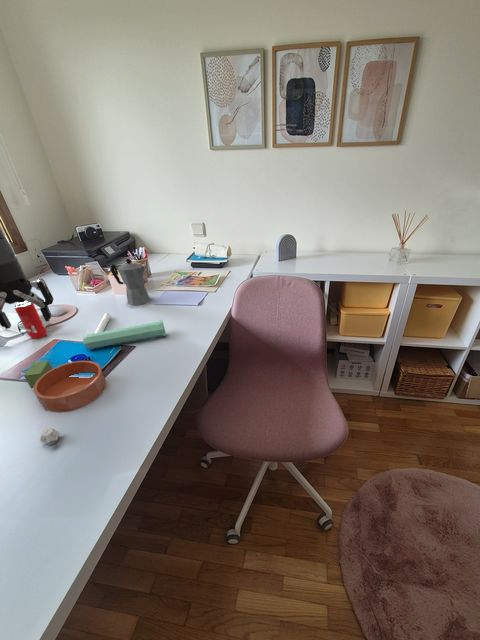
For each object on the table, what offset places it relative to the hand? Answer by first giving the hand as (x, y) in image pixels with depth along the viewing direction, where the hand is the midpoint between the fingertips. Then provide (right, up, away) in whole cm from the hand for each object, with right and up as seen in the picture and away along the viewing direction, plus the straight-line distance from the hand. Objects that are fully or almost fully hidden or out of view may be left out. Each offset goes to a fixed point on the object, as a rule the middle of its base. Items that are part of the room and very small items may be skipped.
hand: (28, 323), depth 76 cm
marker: (+2, +1, +33) cm, 33 cm away
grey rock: (+13, -27, -10) cm, 32 cm away
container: (+14, -4, +24) cm, 28 cm away
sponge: (-2, -15, +8) cm, 17 cm away
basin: (+9, -18, +4) cm, 20 cm away
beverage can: (-19, -2, +29) cm, 34 cm away
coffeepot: (+6, +14, +52) cm, 54 cm away
